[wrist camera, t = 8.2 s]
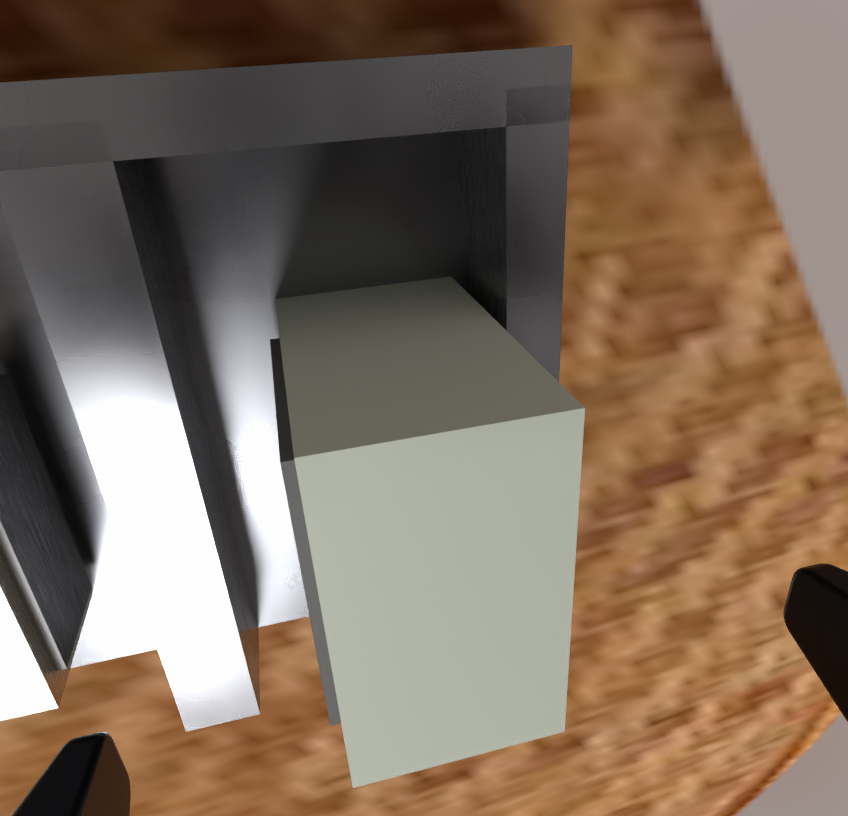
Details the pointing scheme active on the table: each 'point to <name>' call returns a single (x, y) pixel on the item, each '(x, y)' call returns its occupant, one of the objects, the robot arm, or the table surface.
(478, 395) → the pale sage upright block
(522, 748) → the table surface
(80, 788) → the robot arm
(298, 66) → the gray compartment tray
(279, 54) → the table surface
